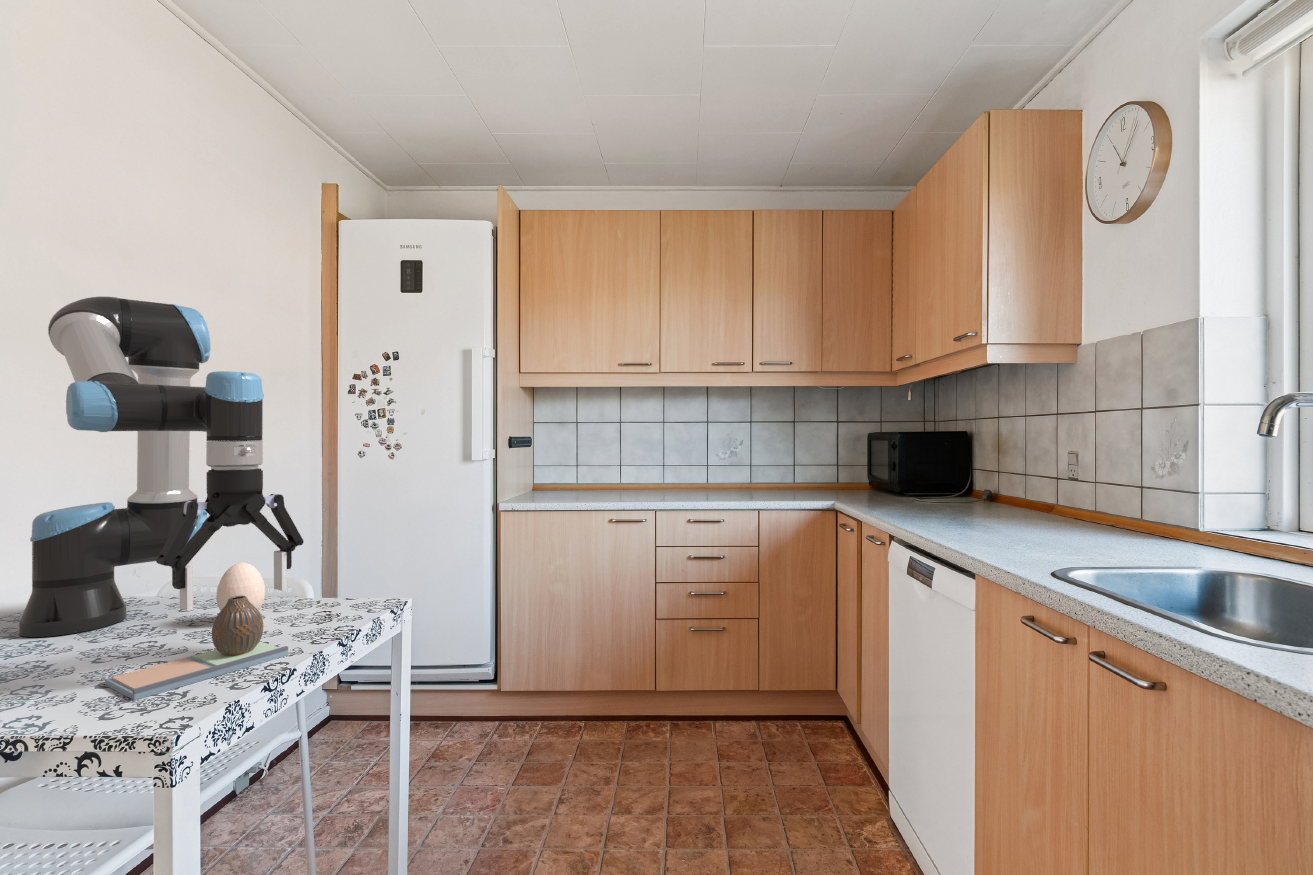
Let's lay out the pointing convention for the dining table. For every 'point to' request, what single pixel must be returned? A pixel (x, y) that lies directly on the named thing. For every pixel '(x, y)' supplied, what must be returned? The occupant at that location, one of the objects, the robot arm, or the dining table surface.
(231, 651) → the vase
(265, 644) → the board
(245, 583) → the egg
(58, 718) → the dining table surface
